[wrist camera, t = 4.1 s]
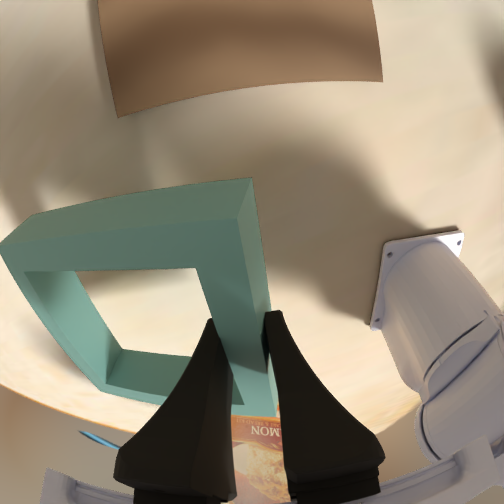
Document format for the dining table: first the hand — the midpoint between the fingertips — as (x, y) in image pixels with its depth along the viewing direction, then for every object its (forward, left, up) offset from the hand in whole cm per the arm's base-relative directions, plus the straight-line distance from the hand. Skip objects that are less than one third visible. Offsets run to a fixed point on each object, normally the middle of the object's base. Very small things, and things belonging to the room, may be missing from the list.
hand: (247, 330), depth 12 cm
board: (+18, -2, -8) cm, 20 cm away
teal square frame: (0, +5, -2) cm, 5 cm away
